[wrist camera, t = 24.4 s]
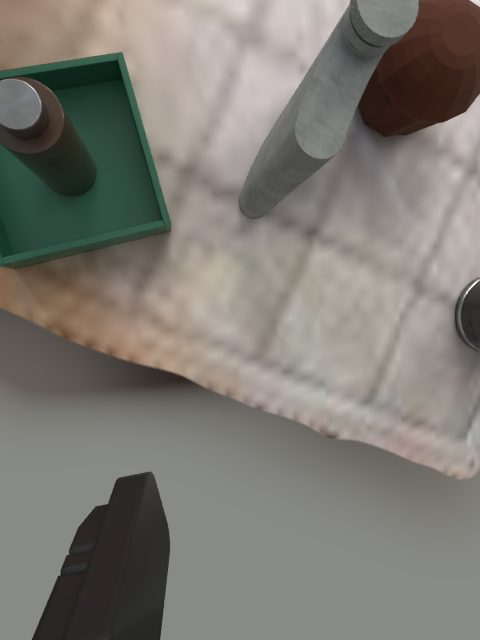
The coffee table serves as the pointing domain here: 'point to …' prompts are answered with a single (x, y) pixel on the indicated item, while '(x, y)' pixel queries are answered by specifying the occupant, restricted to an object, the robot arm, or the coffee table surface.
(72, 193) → the pepper mill
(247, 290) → the coffee table surface
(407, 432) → the coffee table surface
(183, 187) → the coffee table surface
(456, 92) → the muffin
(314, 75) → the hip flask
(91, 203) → the tray
